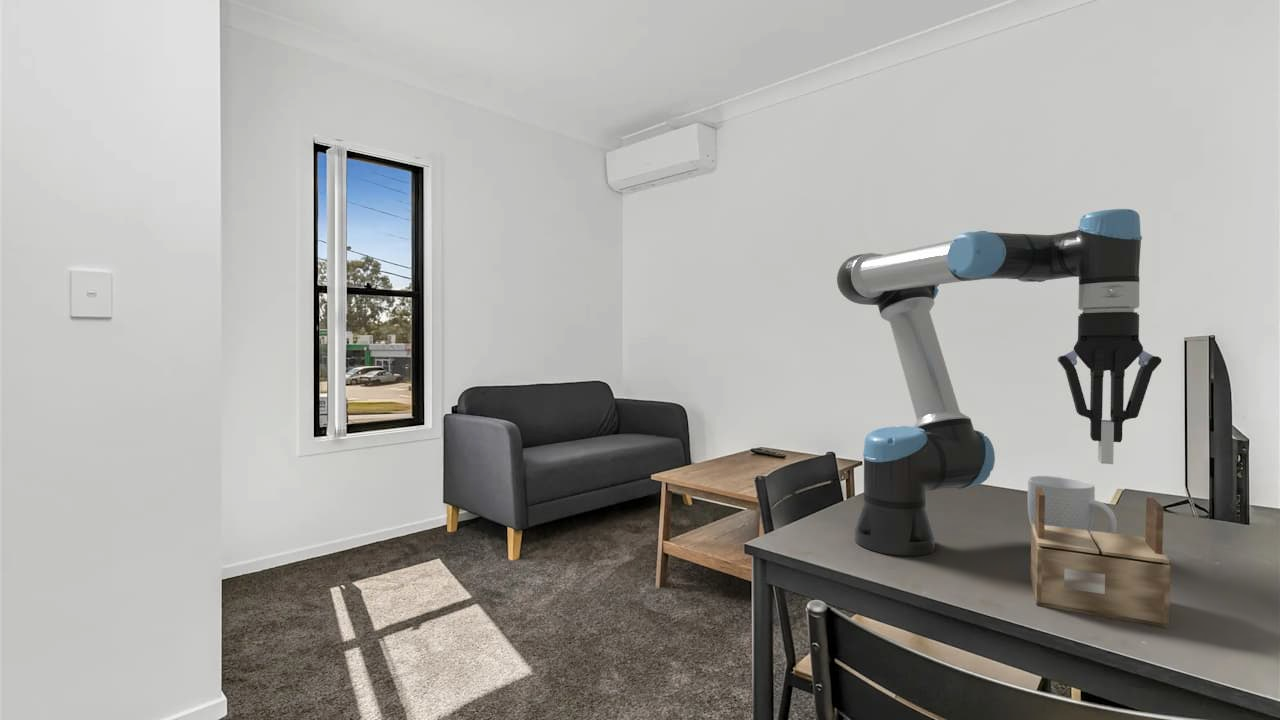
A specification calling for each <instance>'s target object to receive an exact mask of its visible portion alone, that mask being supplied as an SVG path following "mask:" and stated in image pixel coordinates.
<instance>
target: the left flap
mask: <svg viewBox="0 0 1280 720" xmlns="http://www.w3.org/2000/svg"><path fill="white" fill-rule="evenodd" d="M1032 529H1033V533H1034V536H1035V539H1036V543H1037V546H1044V547H1051V548H1058V549H1066V550H1073V551H1080V552H1088V553H1095V554H1099V550H1098V548H1097V546H1096V545H1095V543H1094V541H1093V539H1092V538H1091V536H1090V535H1091V534H1089V532H1088V531H1087V530H1081V529H1073V528H1065V527H1056V526H1048V525H1045V494H1044V492H1043V490H1042V487H1036V503H1035V524H1032Z"/></svg>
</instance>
